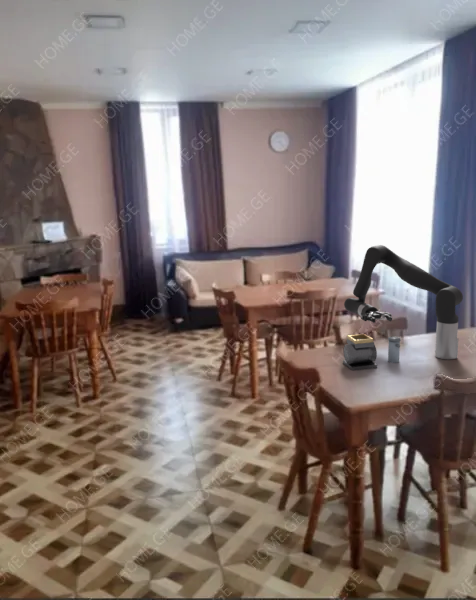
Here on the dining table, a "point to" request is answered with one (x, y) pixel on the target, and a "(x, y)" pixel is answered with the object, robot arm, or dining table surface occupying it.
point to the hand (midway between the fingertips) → (382, 320)
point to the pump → (393, 349)
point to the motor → (360, 352)
